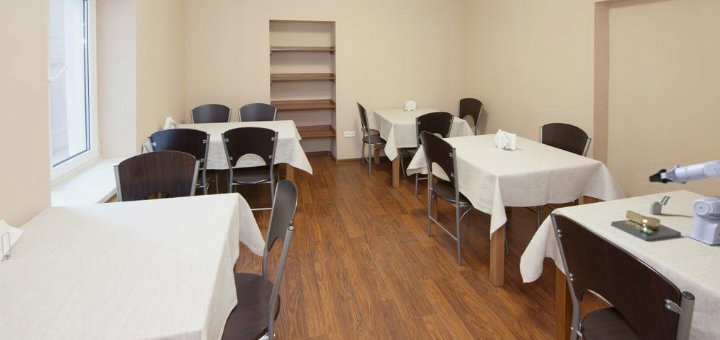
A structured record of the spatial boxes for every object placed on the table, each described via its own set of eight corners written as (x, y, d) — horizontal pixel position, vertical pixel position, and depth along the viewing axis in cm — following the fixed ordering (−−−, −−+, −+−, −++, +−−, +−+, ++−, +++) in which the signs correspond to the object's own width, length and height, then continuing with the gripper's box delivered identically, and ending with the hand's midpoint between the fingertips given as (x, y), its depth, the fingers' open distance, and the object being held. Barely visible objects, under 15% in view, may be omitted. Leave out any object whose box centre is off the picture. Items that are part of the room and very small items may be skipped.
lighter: (652, 214, 190) (655, 196, 188) (649, 213, 191) (652, 195, 189) (667, 213, 190) (670, 195, 188) (664, 212, 192) (667, 194, 190)
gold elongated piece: (663, 228, 169) (664, 221, 168) (650, 230, 168) (651, 223, 167) (633, 216, 182) (634, 209, 181) (621, 218, 180) (622, 211, 179)
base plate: (680, 236, 167) (681, 228, 166) (645, 240, 163) (647, 232, 162) (643, 221, 182) (644, 214, 181) (611, 225, 178) (612, 217, 177)
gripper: (702, 162, 169) (668, 169, 182) (675, 162, 165) (641, 169, 177) (706, 181, 168) (671, 186, 181) (678, 181, 163) (644, 186, 176)
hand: (656, 179), depth 179 cm, fingers open, 7 cm apart
